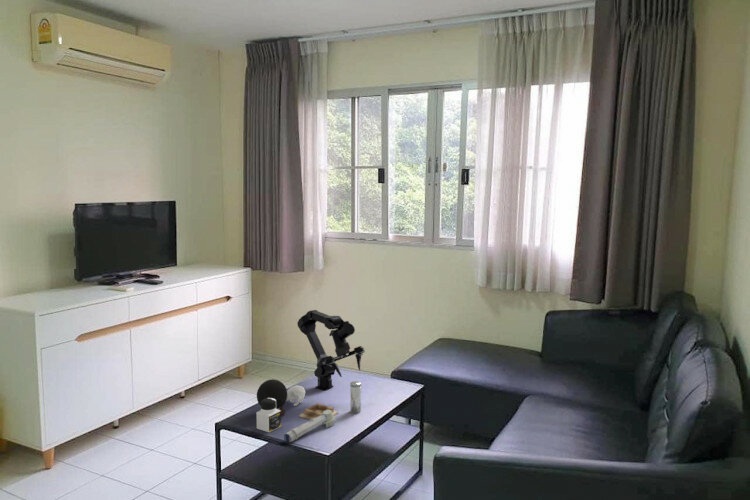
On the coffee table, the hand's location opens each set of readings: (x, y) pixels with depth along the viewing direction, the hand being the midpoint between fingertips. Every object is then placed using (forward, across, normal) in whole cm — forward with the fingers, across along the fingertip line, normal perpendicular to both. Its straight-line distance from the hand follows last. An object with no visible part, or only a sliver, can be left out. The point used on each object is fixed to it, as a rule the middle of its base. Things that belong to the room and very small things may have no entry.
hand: (350, 373), depth 251 cm
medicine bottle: (+13, -35, -28) cm, 46 cm away
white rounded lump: (+4, -30, -2) cm, 30 cm away
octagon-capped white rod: (+20, -18, -29) cm, 40 cm away
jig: (+14, -17, -13) cm, 25 cm away
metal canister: (+17, -2, -7) cm, 19 cm away
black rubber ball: (+6, -36, -14) cm, 39 cm away
